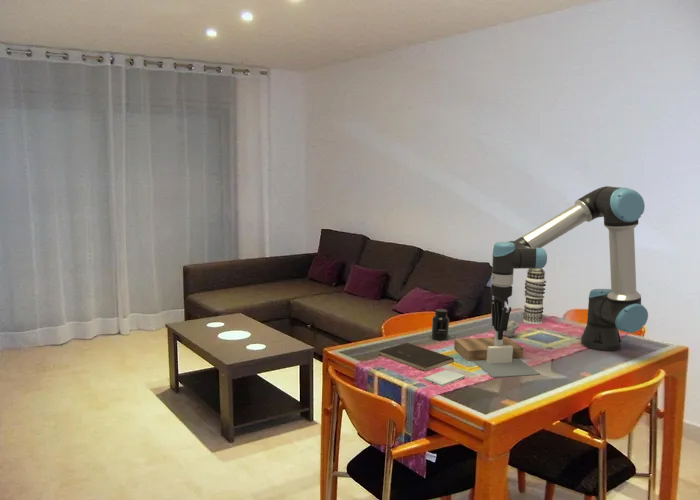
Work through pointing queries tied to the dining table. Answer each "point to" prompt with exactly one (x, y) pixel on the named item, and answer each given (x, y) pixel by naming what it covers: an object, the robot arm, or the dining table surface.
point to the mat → (507, 368)
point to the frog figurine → (511, 328)
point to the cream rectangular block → (499, 354)
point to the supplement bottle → (440, 325)
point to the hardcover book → (416, 356)
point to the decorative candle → (534, 296)
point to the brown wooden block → (483, 348)
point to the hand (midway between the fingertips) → (498, 347)
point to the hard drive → (444, 377)
